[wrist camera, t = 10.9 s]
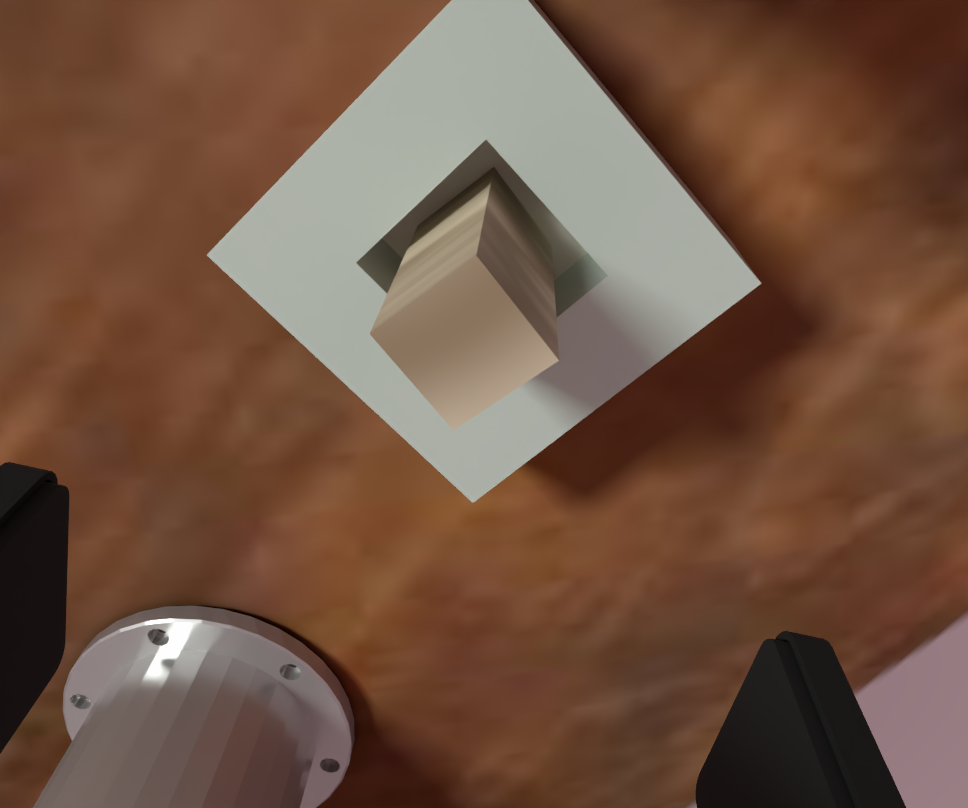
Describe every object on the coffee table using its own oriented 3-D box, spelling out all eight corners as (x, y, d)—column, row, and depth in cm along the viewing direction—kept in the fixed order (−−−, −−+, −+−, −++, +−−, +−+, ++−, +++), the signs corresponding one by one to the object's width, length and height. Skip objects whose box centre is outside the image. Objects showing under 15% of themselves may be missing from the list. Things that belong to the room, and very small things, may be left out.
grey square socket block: (480, 435, 32) (472, 502, 28) (252, 214, 29) (206, 255, 25) (729, 238, 28) (761, 283, 24) (499, -42, 25) (492, -43, 21)
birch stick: (551, 244, 28) (559, 360, 19) (476, 298, 28) (453, 430, 20) (494, 166, 27) (476, 255, 18) (417, 225, 27) (369, 333, 19)
